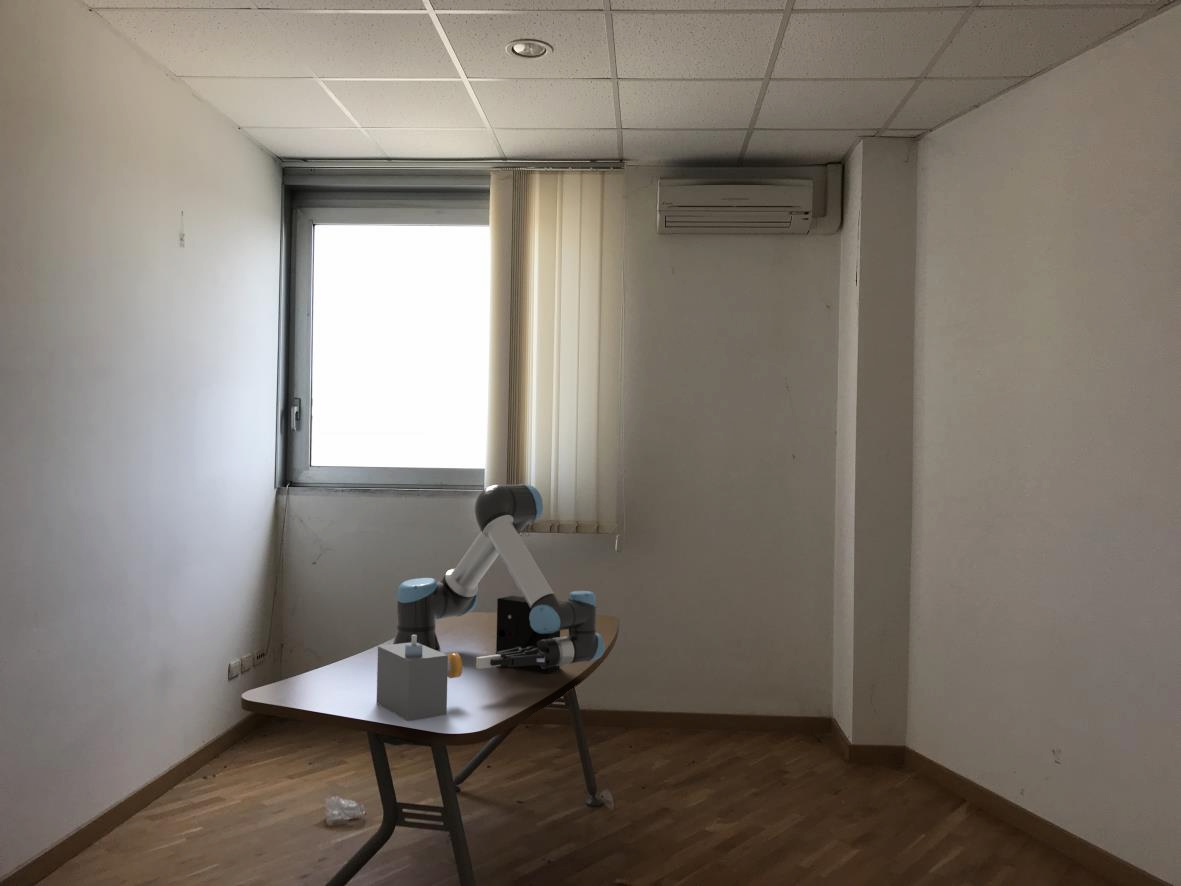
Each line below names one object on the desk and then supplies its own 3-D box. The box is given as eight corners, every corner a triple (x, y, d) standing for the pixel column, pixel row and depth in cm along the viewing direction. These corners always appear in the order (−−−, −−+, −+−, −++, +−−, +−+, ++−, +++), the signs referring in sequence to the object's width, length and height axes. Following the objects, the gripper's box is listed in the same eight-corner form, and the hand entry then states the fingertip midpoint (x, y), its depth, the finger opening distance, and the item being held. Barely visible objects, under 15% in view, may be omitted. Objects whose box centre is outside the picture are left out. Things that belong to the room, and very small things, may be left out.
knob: (422, 678, 217) (423, 654, 217) (450, 674, 221) (451, 650, 221) (433, 683, 212) (434, 659, 212) (462, 679, 217) (462, 655, 217)
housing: (376, 702, 216) (378, 646, 216) (413, 696, 222) (415, 641, 222) (407, 721, 201) (409, 660, 202) (446, 714, 207) (447, 655, 208)
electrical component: (563, 668, 255) (564, 600, 256) (544, 675, 247) (545, 604, 247) (514, 660, 264) (516, 594, 265) (494, 667, 256) (496, 598, 256)
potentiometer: (402, 654, 207) (402, 634, 207) (417, 652, 209) (418, 632, 209) (409, 658, 204) (410, 637, 204) (425, 656, 206) (425, 635, 206)
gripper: (567, 671, 231) (490, 683, 217) (539, 661, 241) (464, 672, 227) (567, 642, 231) (490, 653, 217) (540, 634, 242) (465, 643, 227)
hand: (477, 663), depth 222 cm, fingers closed
